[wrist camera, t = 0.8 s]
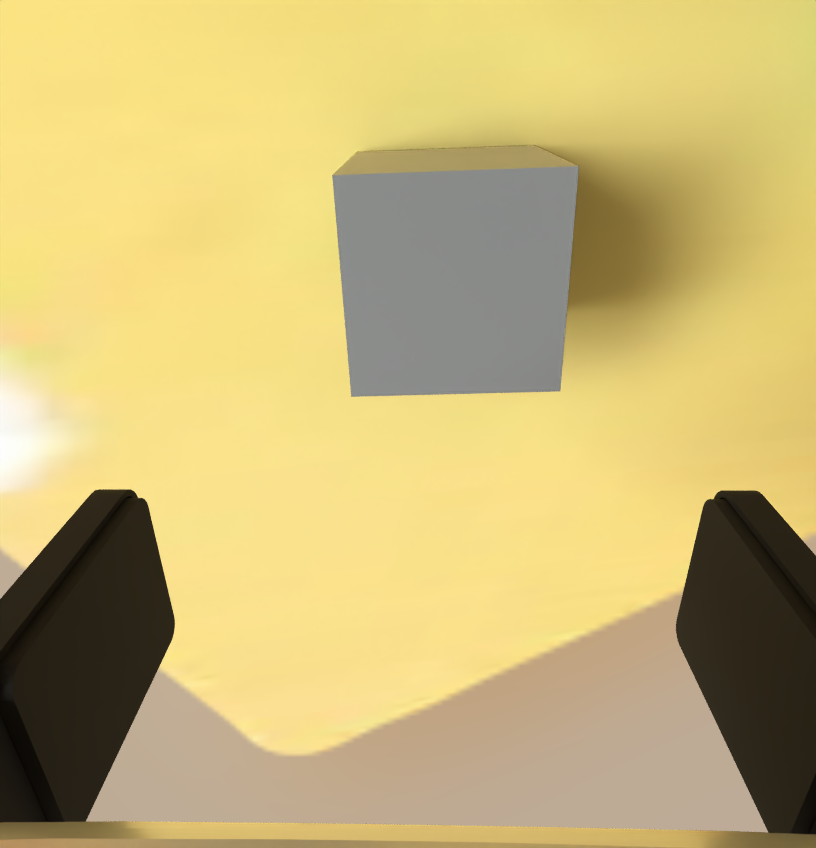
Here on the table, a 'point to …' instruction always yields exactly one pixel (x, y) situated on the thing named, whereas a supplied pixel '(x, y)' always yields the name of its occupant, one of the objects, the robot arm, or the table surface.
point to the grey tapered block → (455, 268)
